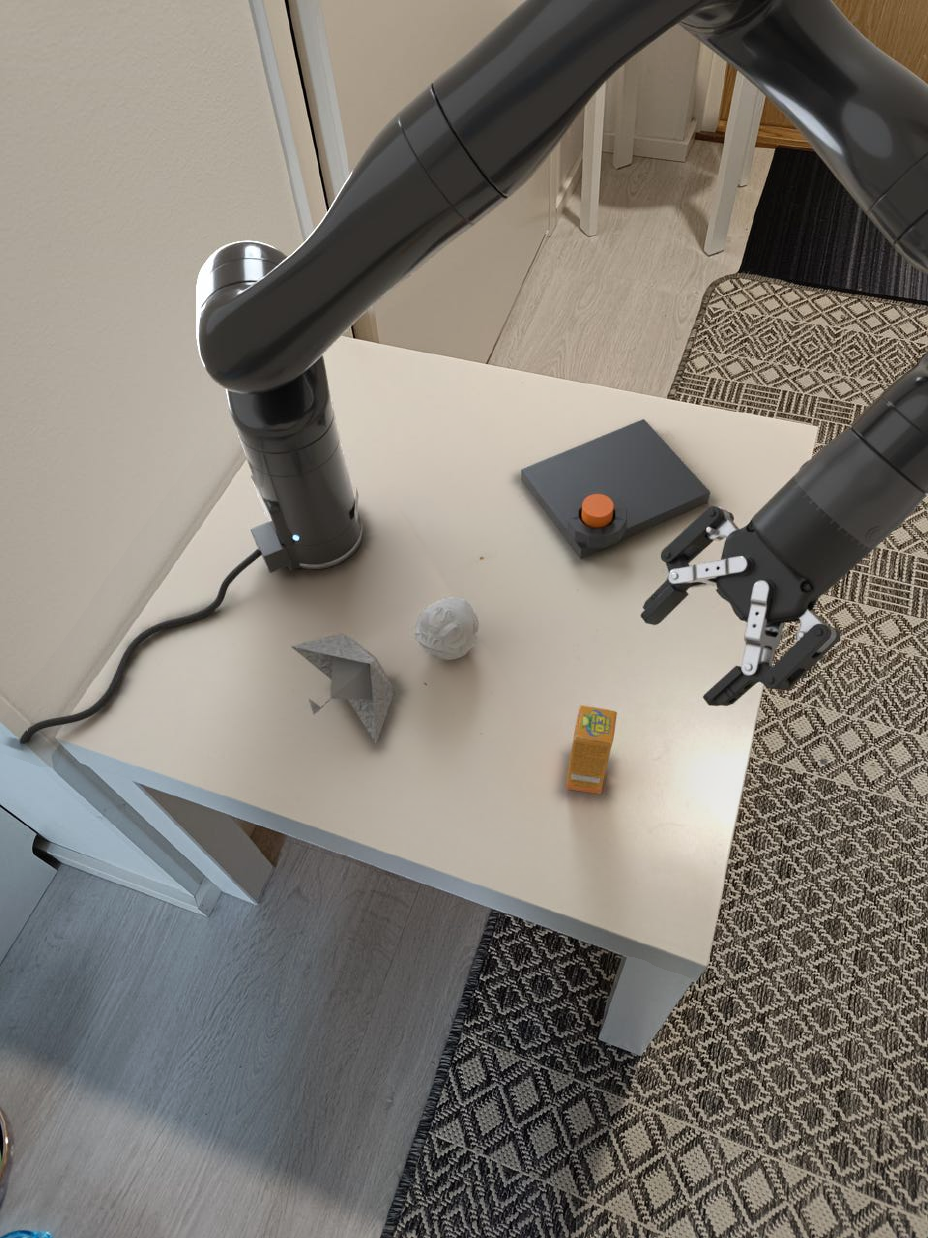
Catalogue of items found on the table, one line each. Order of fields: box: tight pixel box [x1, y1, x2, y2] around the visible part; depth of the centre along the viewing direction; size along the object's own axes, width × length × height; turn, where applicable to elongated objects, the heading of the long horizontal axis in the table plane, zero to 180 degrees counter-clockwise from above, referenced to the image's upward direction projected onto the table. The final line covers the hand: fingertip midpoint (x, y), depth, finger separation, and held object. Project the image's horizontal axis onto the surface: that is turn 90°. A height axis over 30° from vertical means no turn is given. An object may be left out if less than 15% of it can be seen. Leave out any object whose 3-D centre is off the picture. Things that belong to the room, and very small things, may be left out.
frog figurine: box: [413, 596, 480, 661], centre depth 86 cm, size 6×7×7 cm
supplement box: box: [565, 705, 618, 795], centre depth 77 cm, size 3×3×10 cm
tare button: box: [581, 494, 614, 528], centre depth 93 cm, size 3×3×2 cm
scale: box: [520, 418, 711, 560], centre depth 98 cm, size 16×14×4 cm
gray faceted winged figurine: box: [290, 632, 395, 744], centre depth 84 cm, size 12×6×9 cm
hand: (677, 660), depth 71 cm, fingers open, 8 cm apart
